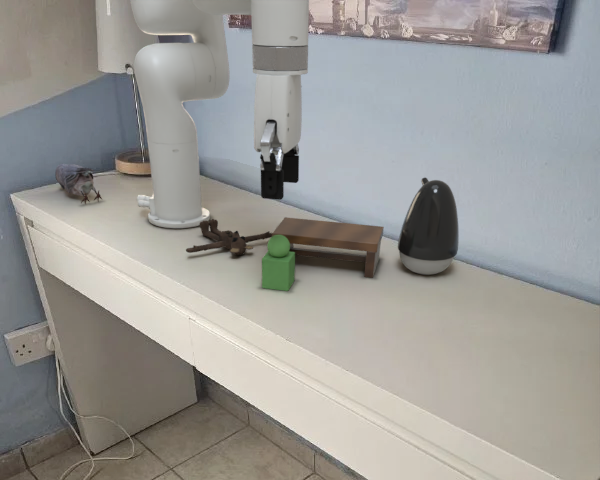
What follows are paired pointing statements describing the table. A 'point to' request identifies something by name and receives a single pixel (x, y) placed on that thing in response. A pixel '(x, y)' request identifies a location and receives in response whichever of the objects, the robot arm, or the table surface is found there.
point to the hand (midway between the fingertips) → (280, 189)
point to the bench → (334, 240)
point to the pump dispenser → (430, 229)
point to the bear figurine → (225, 239)
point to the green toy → (278, 264)
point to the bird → (76, 180)
